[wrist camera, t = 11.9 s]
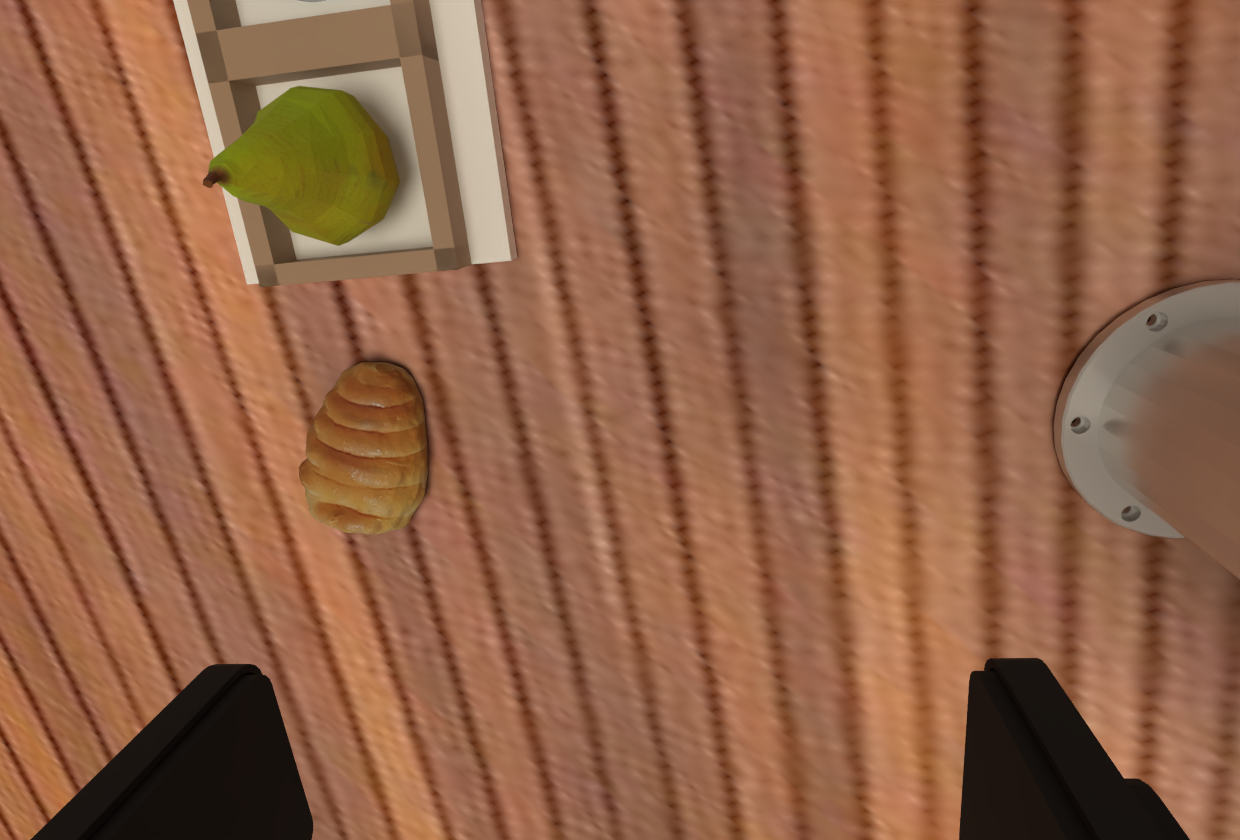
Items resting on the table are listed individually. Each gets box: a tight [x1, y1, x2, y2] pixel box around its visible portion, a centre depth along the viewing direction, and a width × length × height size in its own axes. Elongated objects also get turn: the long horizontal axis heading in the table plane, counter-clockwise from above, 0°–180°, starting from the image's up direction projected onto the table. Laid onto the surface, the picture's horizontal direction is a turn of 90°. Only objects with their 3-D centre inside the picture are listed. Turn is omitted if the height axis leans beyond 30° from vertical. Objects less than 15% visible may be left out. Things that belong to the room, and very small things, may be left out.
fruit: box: [203, 86, 400, 246], centre depth 29 cm, size 6×6×12 cm
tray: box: [173, 0, 517, 287], centre depth 32 cm, size 14×20×3 cm
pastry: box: [299, 362, 428, 534], centre depth 39 cm, size 9×7×4 cm
